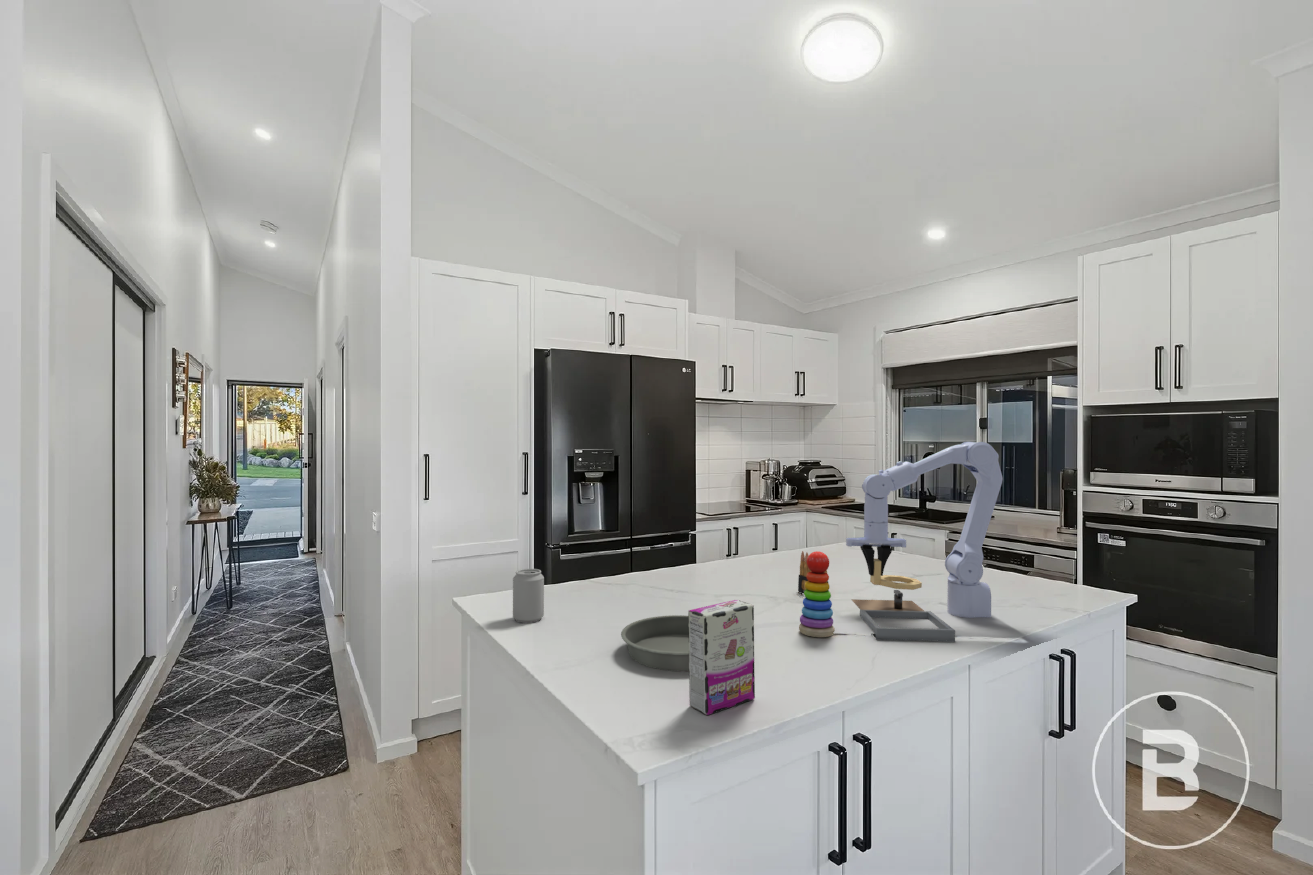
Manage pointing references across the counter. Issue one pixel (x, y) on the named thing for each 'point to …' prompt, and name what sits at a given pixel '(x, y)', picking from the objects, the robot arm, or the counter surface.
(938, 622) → the tray
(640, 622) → the cake pan
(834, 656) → the counter surface
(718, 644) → the candy bar box
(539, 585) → the can
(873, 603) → the stake board
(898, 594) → the stake
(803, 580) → the ammunition clip
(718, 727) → the counter surface
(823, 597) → the stacking toy
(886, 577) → the ring
